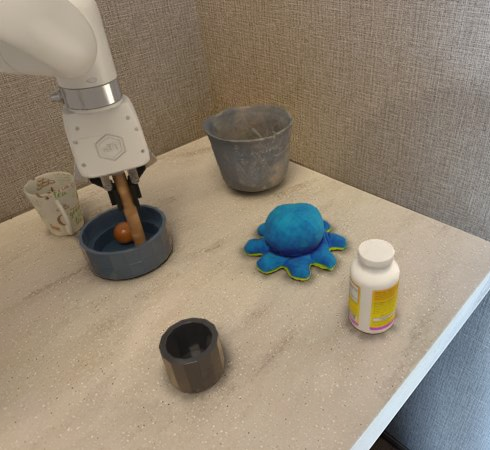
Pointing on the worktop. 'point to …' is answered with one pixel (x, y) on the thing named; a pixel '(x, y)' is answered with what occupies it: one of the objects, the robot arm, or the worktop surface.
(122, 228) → the bead
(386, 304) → the supplement bottle
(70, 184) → the mug
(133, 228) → the stick
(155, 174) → the worktop surface
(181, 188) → the worktop surface
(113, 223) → the mixing bowl
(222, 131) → the grey bucket
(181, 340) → the holder
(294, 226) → the plush toy
